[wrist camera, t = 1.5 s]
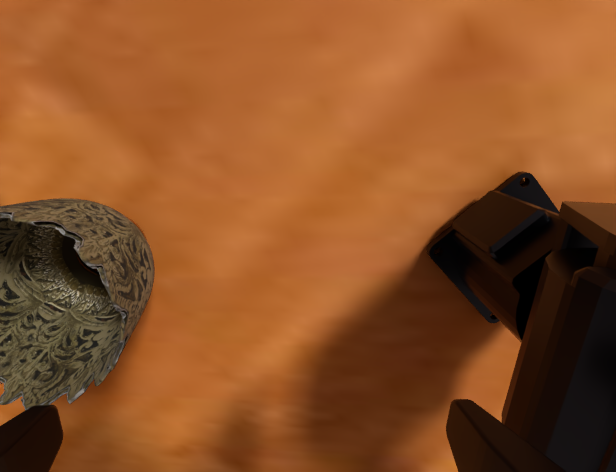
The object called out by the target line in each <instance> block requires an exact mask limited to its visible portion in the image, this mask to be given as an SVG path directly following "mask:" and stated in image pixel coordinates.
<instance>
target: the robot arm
mask: <svg viewBox="0 0 616 472" xmlns="http://www.w3.org/2000/svg"><path fill="white" fill-rule="evenodd" d="M523 178H525V183H524V184H523V185H521V186H520V181H521V179H523ZM436 248H440V251H439V252H438V253H436V254H434V250H435V249H436ZM427 253H428V255H429V256H430V257H431V258H432V260H433V261H434V262H435V263H436V264H437V265H438V266H439V267H440V269H441V270H442V271H443V272H444V273H445V274H446V275H447V276H448V278H449V279H450V280H451V281H452V282H453V283H454V284H455V285H456V286H457V288H458V289H459V290H460V291H461V292H462V293H463V294H464V295H465V297H466V298H467V299H468V300H469V301H470V302H471V303H472V304H473V305H474V307H475V308H476V309H477V310H478V311H479V312H480V313H481V314H482V316H483V317H484V318H485V319H486V320H487V321H488V322H490V323H497V322H498V321H501V322H502V323H503V324H504V325H505V326H506V327H507V328H508V329H509V330H510V331H511V332H512V333H513V334H514V335H515V337H516V338H517V339H518V340H519V341H520V342H521V347H520V350H519V354H518V357H517V361H516V364H515V368H514V371H513V375H512V379H511V382H510V386H509V389H508V393H507V396H506V400H505V403H504V407H503V411H502V423H501V422H500V421H499V420H497V419H496V418H495V417H493V416H492V415H490V414H489V413H488V412H486V411H485V410H484V409H482V408H481V407H480V406H478V405H477V404H476V403H474V402H473V401H471V400H468V399H456V400H453V401H452V402H451V405H450V410H449V415H448V420H447V425H446V433H447V438H448V441H449V444H450V447H451V450H452V453H453V456H454V459H455V462H456V466H457V469H458V472H616V204H612V203H589V202H562V205H561V208H560V212H559V211H558V209H557V208H556V207H555V205H554V204H553V203H552V201H551V200H550V198H549V197H548V196H547V194H546V193H545V191H544V190H543V189H542V187H541V186H540V185H539V183H538V182H537V180H536V179H535V178H534V176H533V175H532V174H530V173H527V172H523V171H522V172H518V173H516V174H514V175H513V176H512V177H511V178H510V179H508V180H507V181H506V182H505V183H503V184H502V185H501V186H500V187H499V188H497V189H496V190H495V191H489V192H488V193H487V194H486V195H485V196H483V197H482V198H481V199H480V200H478V201H477V202H476V203H475V204H474V205H472V206H471V207H470V208H469V209H467V210H466V211H465V212H464V213H463V214H461V215H460V216H459V217H458V218H456V219H455V220H454V221H453V224H452V226H451V227H450V228H448V229H447V230H446V231H445V232H443V233H442V234H441V235H440V236H438V237H437V238H436V239H435V240H434V241H432V242H431V243H430V244H429V245H428V247H427ZM492 313H493V314H494V315H492V316H490V315H491V314H492ZM62 440H63V430H62V426H61V421H60V417H59V413H58V409H57V408H56V406H54V405H35V406H32V407H31V408H29V409H27V410H26V411H24V412H22V413H21V414H19V415H18V416H16V417H14V418H13V419H11V420H9V421H8V422H6V423H5V424H3V425H1V426H0V472H49V470H50V468H51V466H52V464H53V462H54V459H55V457H56V455H57V453H58V451H59V449H60V446H61V444H62Z"/></svg>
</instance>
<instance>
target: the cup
mask: <svg viewBox="0 0 616 472" xmlns="http://www.w3.org/2000/svg"><path fill="white" fill-rule="evenodd" d="M153 282H154V261H153V256H152V252H151V249H150V246H149V244H148V242H147V240H146V237H145V235H144V233H143V231H142V229H141V228H140V227H139V226H138V225H137V224H136V223H135V222H134V221H132V220H131V219H129V218H127V217H125V216H124V215H123V214H121V213H120V212H118V211H116V210H114V209H112V208H110V207H108V206H105V205H102V204H99V203H96V202H92V201H88V200H81V199H48V200H39V201H32V202H25V203H19V204H13V205H7V206H1V207H0V381H1V382H3V383H4V390H5V391H4V393H3V394H2V395H1V396H0V405H6V404H9V403H12V402H13V401H15V400H16V399H18V398H20V397H21V396H22V397H23V400H22V398H21V401H22V403H23V406H24V407H25V410H27V409H29V408H31V407H32V406H35V405H50V404H51V403H53V402H54V401H55V400H57V399H58V398H59V397H60V396H62V395H64V394H65V393H67V396H68V397H67V401H68V403H69V404H71V403H72V402H74V401H75V400H76V399H77V398H78V397H79V396H81V395H82V394H83V393H84V392H85V391H86V389H87V388H88V386H89V385H90V383H91V382H92V381H93V380H94V379H95V380H94V383H95V386H99V385H100V384H101V383H102V381H103V380H104V379H105V377H106V376H107V375H108V373H109V372H110V371H112V370H113V369H114V367H115V365H116V363H117V361H118V359H119V356H120V354H121V352H122V351H123V349H124V347H125V345H126V343H127V342H128V340H129V338H130V336H131V334H132V332H133V330H134V329H135V327H136V325H137V323H138V321H139V319H140V317H141V315H142V313H143V311H144V309H145V306H146V304H147V302H148V299H149V297H150V294H151V290H152V287H153ZM1 382H0V383H1ZM1 384H2V383H1Z"/></svg>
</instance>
